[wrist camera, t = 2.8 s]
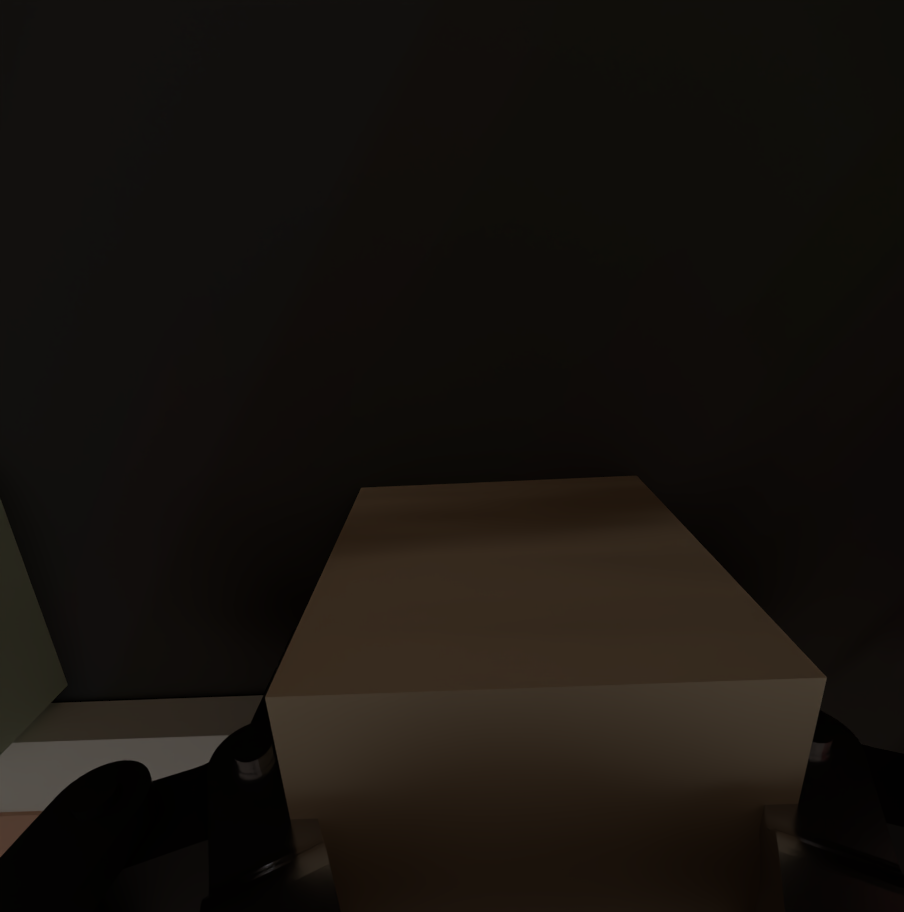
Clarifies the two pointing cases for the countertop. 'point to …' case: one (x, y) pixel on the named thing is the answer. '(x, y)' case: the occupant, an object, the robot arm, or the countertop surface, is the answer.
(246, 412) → the countertop surface
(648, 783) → the beech block
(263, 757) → the robot arm
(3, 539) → the green block
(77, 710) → the plate
